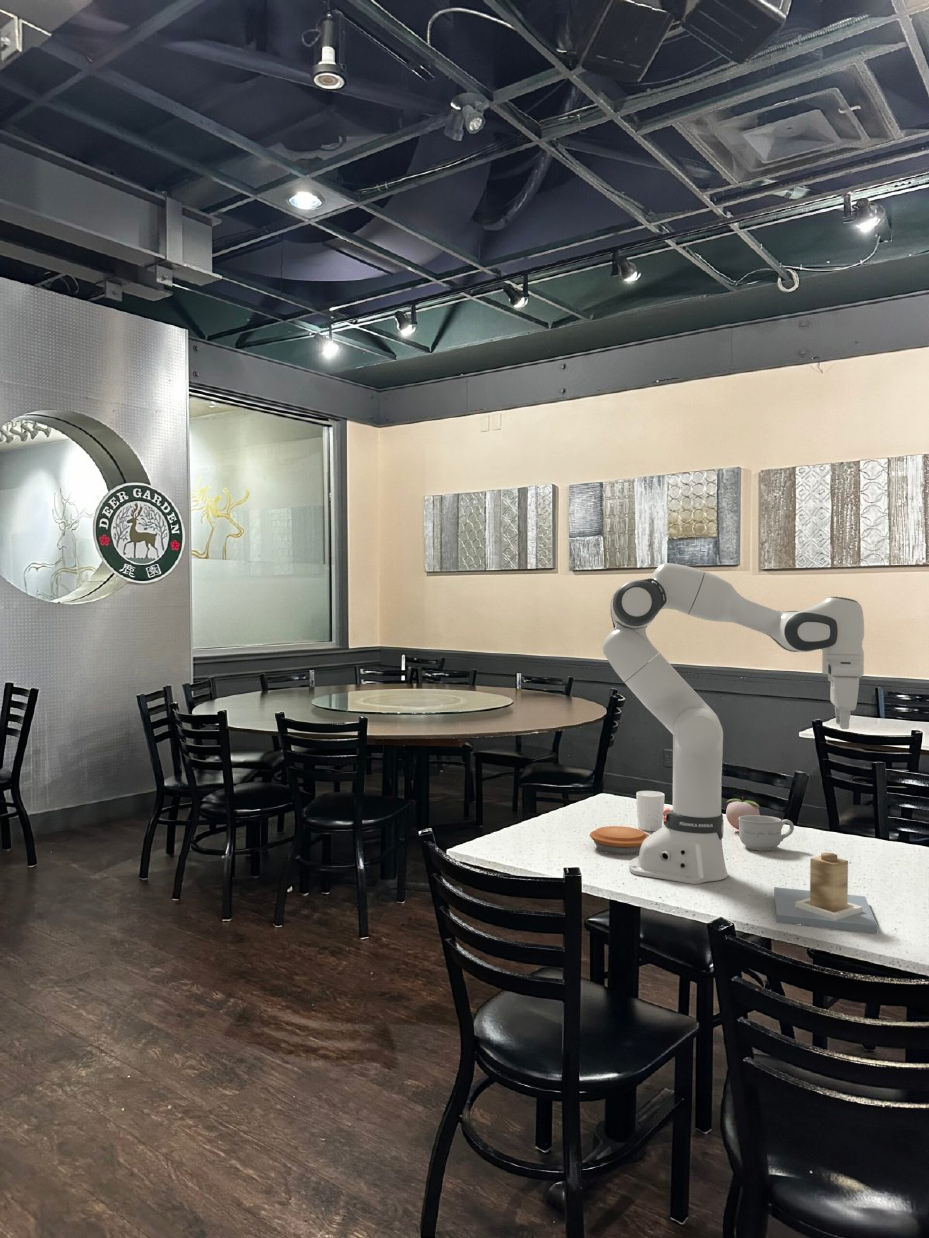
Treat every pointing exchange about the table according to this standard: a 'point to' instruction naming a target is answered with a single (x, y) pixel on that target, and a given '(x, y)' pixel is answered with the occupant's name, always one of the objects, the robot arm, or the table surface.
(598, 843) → the pie
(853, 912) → the socket frame
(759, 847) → the teacup
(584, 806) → the table surface
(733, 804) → the decorative fruit
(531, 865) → the table surface
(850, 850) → the table surface
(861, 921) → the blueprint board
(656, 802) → the white cup
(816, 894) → the oak pillar
